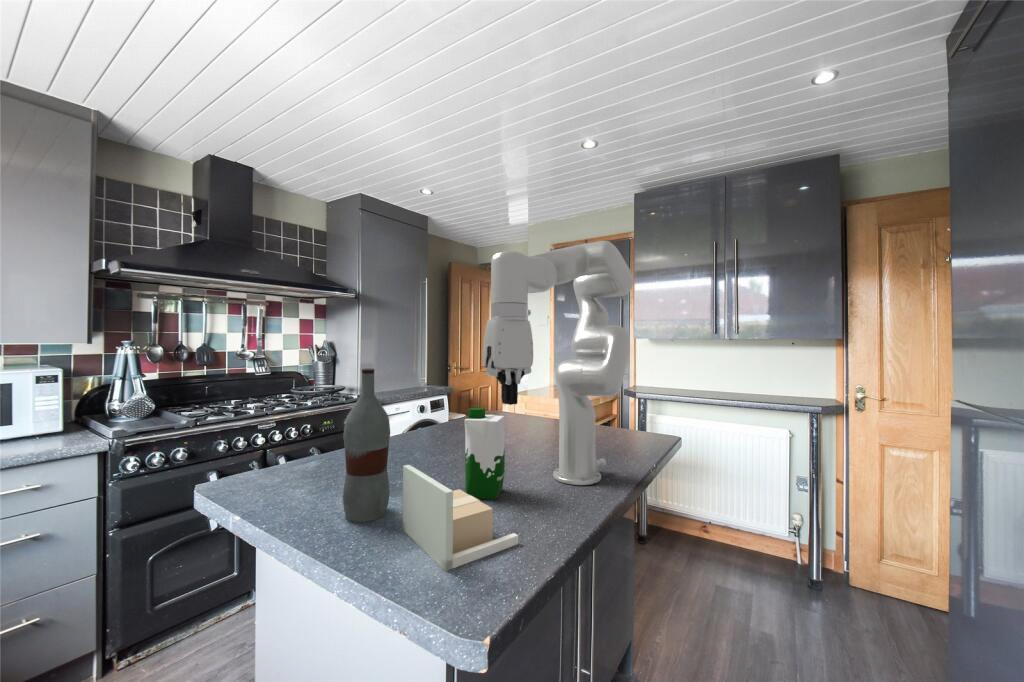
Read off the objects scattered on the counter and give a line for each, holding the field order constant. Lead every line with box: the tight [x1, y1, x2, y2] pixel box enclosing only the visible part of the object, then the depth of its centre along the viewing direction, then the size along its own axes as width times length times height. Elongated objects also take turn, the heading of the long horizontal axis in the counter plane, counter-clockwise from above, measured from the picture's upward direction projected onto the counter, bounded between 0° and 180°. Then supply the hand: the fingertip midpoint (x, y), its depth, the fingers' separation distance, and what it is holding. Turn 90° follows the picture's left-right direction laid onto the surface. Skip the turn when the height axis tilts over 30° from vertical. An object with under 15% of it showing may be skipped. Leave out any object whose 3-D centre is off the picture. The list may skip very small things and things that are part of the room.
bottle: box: [342, 367, 391, 523], centre depth 82 cm, size 9×9×30 cm
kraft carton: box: [452, 489, 494, 554], centre depth 72 cm, size 10×12×6 cm
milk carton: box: [463, 406, 506, 501], centre depth 93 cm, size 9×9×20 cm
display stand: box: [402, 464, 519, 572], centre depth 72 cm, size 14×17×12 cm
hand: (509, 403), depth 80 cm, fingers closed
